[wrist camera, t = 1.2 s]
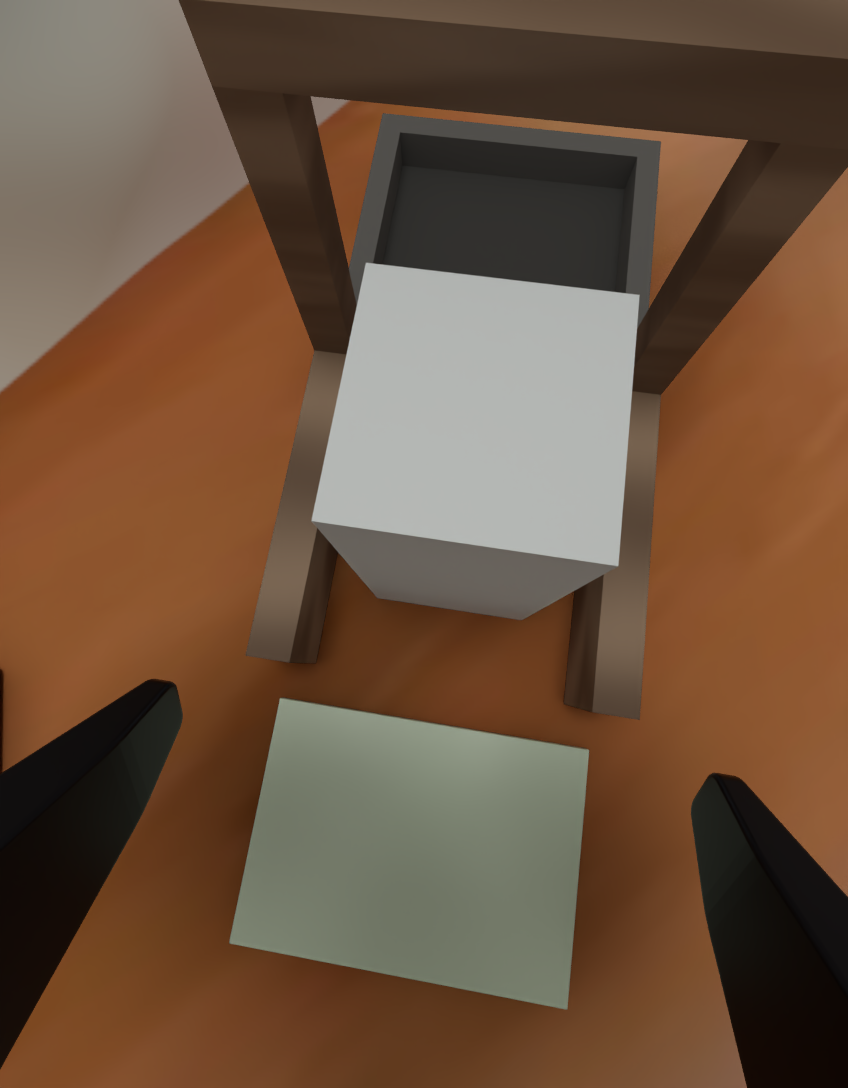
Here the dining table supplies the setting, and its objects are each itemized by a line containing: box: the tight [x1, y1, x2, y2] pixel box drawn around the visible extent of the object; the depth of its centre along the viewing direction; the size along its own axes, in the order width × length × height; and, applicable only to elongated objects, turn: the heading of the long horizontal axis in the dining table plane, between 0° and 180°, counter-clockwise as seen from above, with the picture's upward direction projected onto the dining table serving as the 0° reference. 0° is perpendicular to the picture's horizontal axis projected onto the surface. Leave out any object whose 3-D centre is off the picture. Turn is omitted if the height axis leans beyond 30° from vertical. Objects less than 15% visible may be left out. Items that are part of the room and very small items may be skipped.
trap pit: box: [349, 113, 661, 328], centre depth 25 cm, size 11×13×2 cm
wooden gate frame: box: [179, 0, 848, 720], centre depth 15 cm, size 13×13×15 cm
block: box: [311, 263, 640, 620], centre depth 17 cm, size 6×6×12 cm
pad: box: [229, 698, 589, 1010], centre depth 20 cm, size 8×12×1 cm
